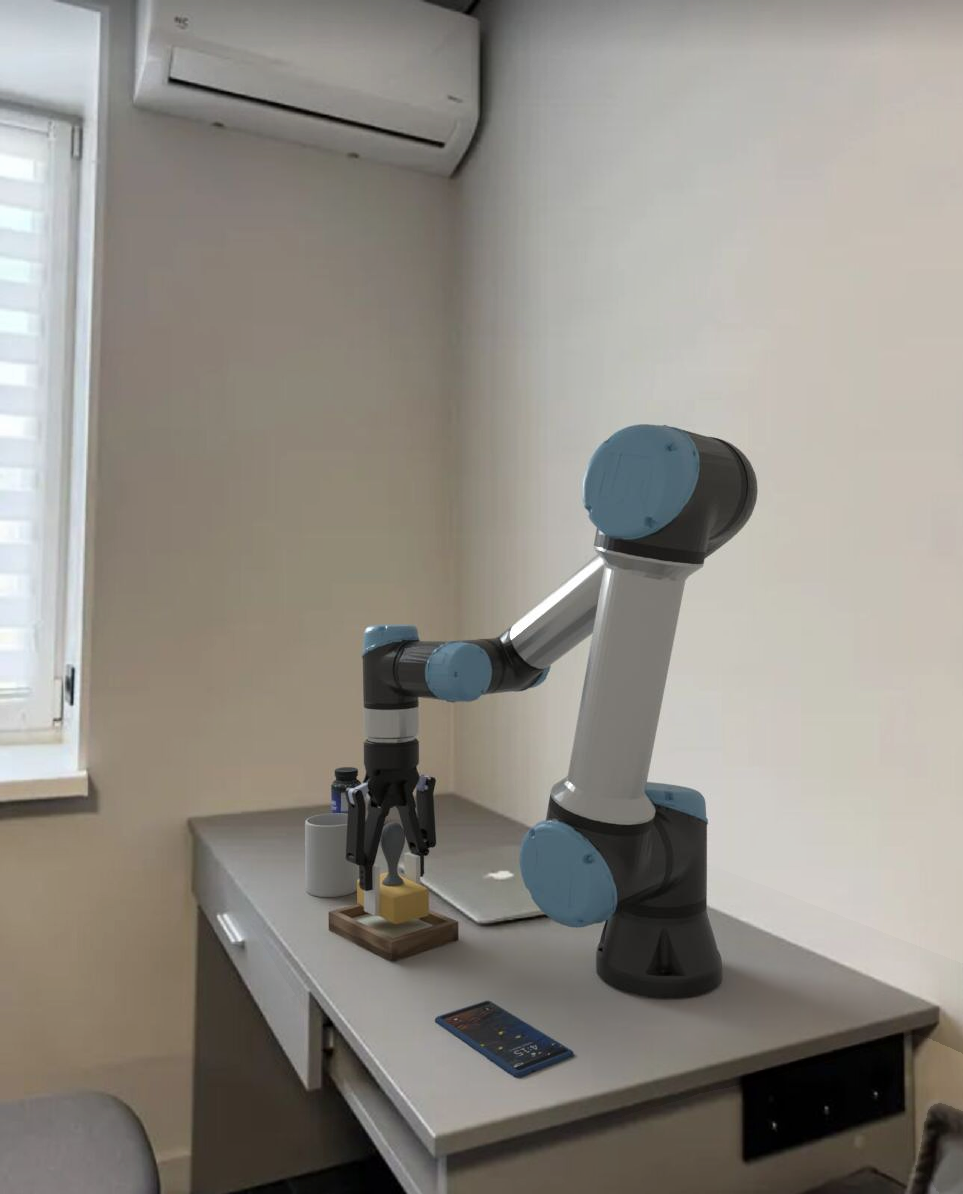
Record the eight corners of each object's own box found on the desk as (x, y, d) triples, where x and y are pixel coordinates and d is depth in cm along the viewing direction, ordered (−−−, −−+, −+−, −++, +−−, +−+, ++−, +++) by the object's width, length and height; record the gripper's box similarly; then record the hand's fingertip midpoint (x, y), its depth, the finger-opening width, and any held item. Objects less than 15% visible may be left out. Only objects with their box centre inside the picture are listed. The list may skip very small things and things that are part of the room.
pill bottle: (329, 821, 188) (328, 767, 188) (359, 818, 190) (358, 765, 190) (333, 828, 182) (333, 772, 182) (364, 825, 184) (363, 770, 184)
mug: (364, 893, 143) (364, 823, 143) (309, 900, 140) (309, 828, 140) (349, 871, 154) (349, 806, 154) (298, 877, 151) (298, 810, 151)
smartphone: (488, 998, 105) (576, 1051, 93) (488, 1005, 105) (576, 1059, 93) (432, 1016, 101) (516, 1074, 88) (432, 1024, 101) (516, 1083, 88)
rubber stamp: (430, 915, 123) (429, 826, 123) (393, 925, 120) (392, 833, 120) (391, 896, 131) (391, 812, 131) (356, 904, 128) (355, 818, 128)
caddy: (458, 940, 124) (458, 921, 124) (391, 962, 116) (391, 942, 116) (393, 911, 135) (393, 894, 135) (328, 929, 128) (328, 911, 128)
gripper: (429, 727, 135) (431, 885, 135) (316, 742, 122) (317, 916, 122) (462, 733, 129) (463, 898, 129) (346, 749, 116) (348, 931, 117)
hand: (392, 906), depth 126 cm, fingers closed on rubber stamp, 6 cm apart
